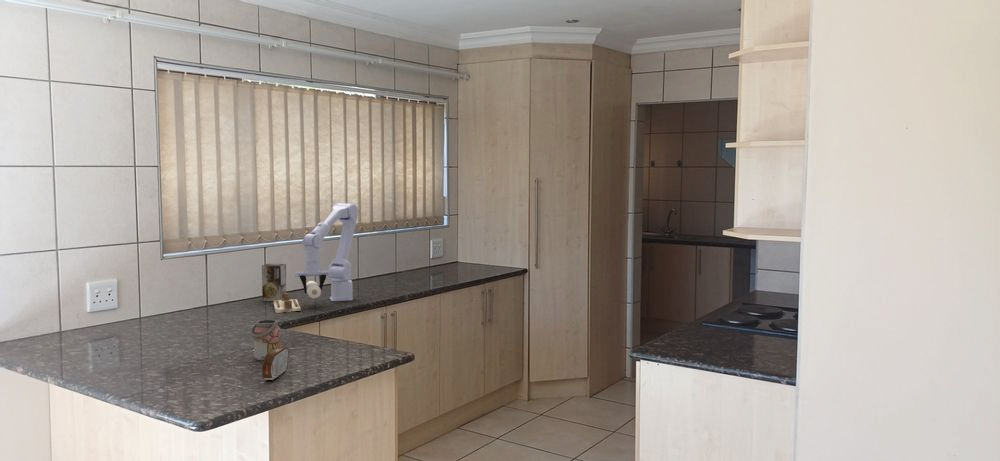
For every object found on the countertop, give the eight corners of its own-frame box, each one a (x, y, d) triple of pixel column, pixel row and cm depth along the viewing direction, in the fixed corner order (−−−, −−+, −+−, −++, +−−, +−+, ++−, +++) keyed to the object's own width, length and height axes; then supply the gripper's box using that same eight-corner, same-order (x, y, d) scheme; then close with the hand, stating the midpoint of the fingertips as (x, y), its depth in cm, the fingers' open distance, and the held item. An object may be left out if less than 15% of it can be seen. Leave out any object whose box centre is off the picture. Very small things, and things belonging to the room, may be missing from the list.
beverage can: (263, 364, 229) (262, 326, 228) (245, 359, 233) (244, 322, 232) (286, 357, 237) (285, 321, 236) (268, 353, 241) (268, 317, 240)
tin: (280, 369, 224) (280, 342, 223) (290, 369, 224) (290, 342, 223) (261, 384, 209) (260, 355, 208) (271, 384, 209) (271, 356, 208)
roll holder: (296, 302, 325) (296, 292, 325) (300, 311, 306) (300, 301, 306) (273, 303, 322) (273, 293, 321) (275, 313, 303) (275, 302, 302)
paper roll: (317, 293, 324) (317, 280, 324) (321, 298, 312) (321, 285, 312) (304, 293, 322) (304, 280, 322) (307, 298, 310) (307, 285, 310)
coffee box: (286, 298, 333) (286, 263, 331) (281, 301, 327) (280, 265, 325) (267, 298, 334) (267, 263, 332) (261, 300, 328) (261, 265, 326)
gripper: (296, 263, 310) (296, 295, 311) (330, 262, 315) (331, 293, 316) (294, 261, 316) (295, 292, 318) (328, 260, 321) (329, 290, 323)
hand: (313, 292), depth 317 cm, fingers closed on paper roll, 6 cm apart
